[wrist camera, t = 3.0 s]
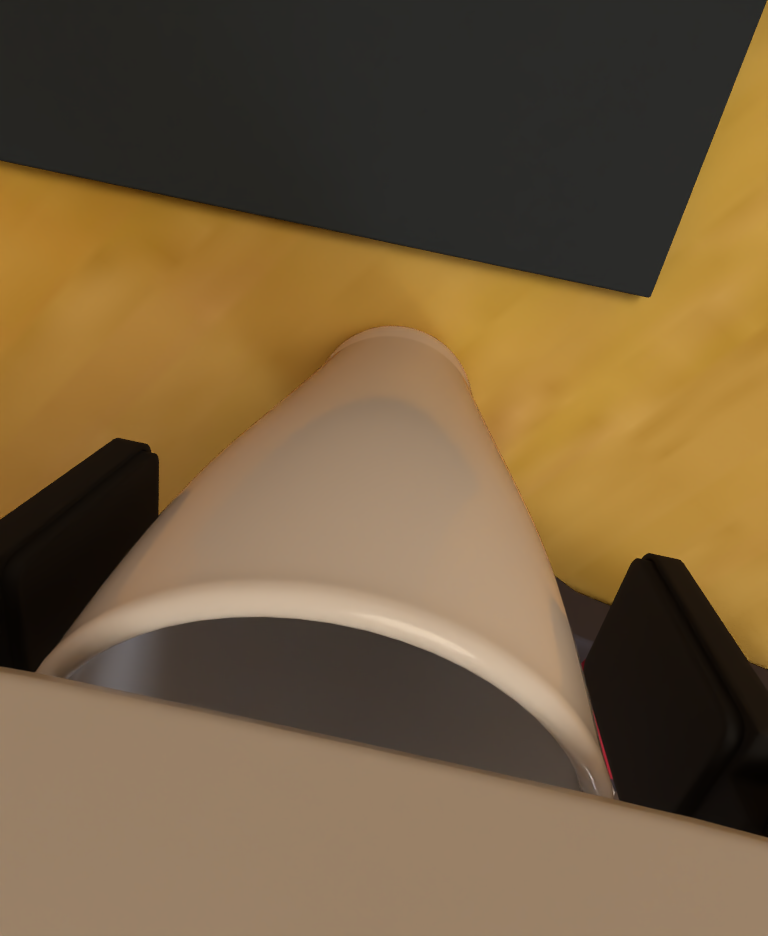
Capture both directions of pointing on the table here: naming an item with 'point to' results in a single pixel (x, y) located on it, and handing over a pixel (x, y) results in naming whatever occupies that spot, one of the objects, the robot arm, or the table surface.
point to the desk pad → (392, 116)
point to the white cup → (357, 580)
